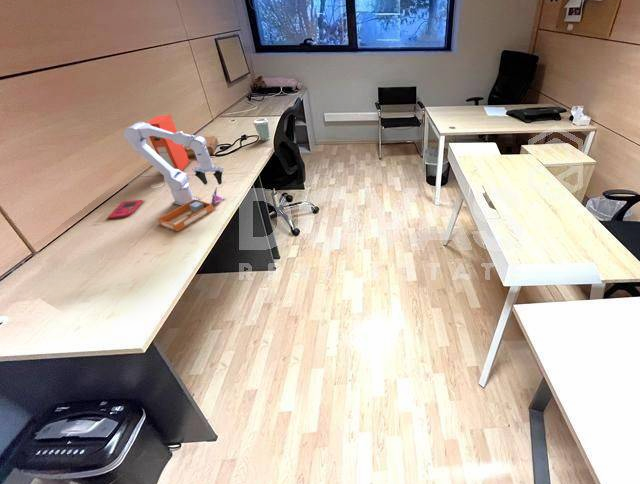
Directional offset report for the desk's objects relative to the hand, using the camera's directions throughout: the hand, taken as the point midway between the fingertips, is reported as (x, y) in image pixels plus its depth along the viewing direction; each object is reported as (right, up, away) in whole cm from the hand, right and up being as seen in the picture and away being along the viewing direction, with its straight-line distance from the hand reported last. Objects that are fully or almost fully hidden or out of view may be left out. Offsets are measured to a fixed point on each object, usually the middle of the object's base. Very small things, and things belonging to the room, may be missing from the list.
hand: (213, 183), depth 167 cm
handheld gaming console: (-43, -14, -3) cm, 45 cm away
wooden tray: (-7, -17, -10) cm, 21 cm away
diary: (-45, +28, +63) cm, 83 cm away
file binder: (-45, +12, +38) cm, 61 cm away
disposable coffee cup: (-7, +40, +81) cm, 91 cm away
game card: (+1, -9, +3) cm, 10 cm away
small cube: (-4, -14, -5) cm, 16 cm away
